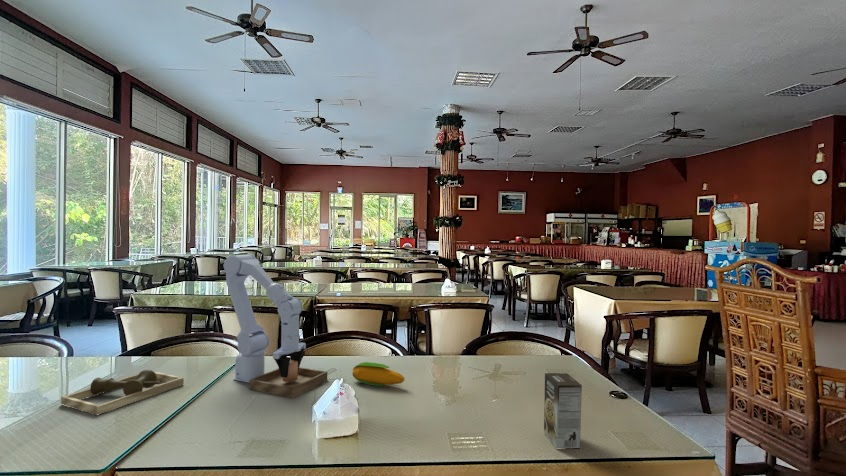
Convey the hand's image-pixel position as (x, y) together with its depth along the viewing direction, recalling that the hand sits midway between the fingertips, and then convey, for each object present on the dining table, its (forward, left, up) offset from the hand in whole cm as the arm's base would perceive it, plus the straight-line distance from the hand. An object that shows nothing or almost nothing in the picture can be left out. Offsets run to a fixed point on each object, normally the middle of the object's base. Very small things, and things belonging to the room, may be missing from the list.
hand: (289, 374), depth 150 cm
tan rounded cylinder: (0, 0, -2) cm, 2 cm away
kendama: (-40, -29, -3) cm, 49 cm away
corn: (+27, +13, -4) cm, 30 cm away
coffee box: (+89, -3, -4) cm, 89 cm away
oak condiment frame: (-40, -29, -3) cm, 50 cm away
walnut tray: (0, 0, -3) cm, 3 cm away
